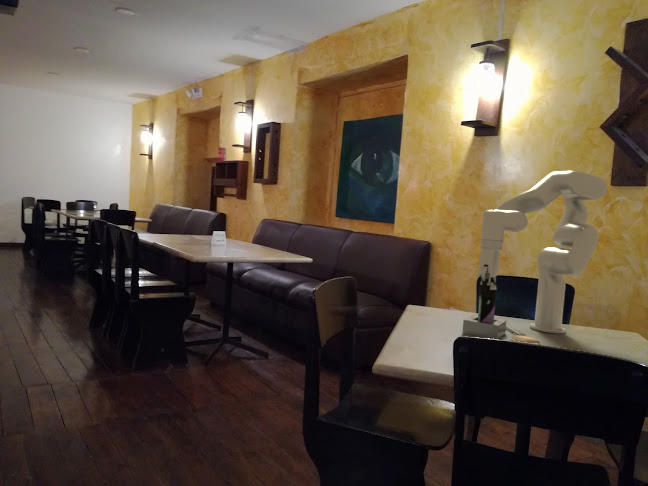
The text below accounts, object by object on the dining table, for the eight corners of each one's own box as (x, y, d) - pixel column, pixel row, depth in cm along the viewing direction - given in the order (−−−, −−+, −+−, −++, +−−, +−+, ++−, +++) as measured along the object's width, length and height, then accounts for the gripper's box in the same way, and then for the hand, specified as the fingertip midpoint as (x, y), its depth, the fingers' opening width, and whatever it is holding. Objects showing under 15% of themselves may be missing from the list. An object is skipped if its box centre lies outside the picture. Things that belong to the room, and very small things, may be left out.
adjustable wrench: (527, 339, 178) (527, 334, 178) (509, 338, 178) (509, 333, 178) (502, 322, 203) (503, 318, 203) (486, 321, 203) (487, 317, 203)
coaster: (514, 336, 179) (514, 334, 179) (541, 341, 174) (541, 339, 174) (508, 341, 171) (508, 338, 171) (536, 346, 167) (536, 344, 167)
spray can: (484, 336, 177) (489, 279, 175) (473, 332, 182) (477, 277, 180) (495, 335, 179) (500, 279, 178) (484, 331, 184) (489, 277, 183)
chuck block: (472, 327, 189) (473, 314, 188) (505, 333, 182) (506, 320, 182) (462, 333, 179) (463, 319, 178) (496, 340, 172) (498, 325, 172)
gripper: (487, 243, 187) (483, 290, 189) (473, 244, 173) (469, 296, 174) (508, 245, 183) (504, 293, 185) (496, 246, 169) (491, 299, 170)
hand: (487, 294), depth 179 cm, fingers open, 6 cm apart
